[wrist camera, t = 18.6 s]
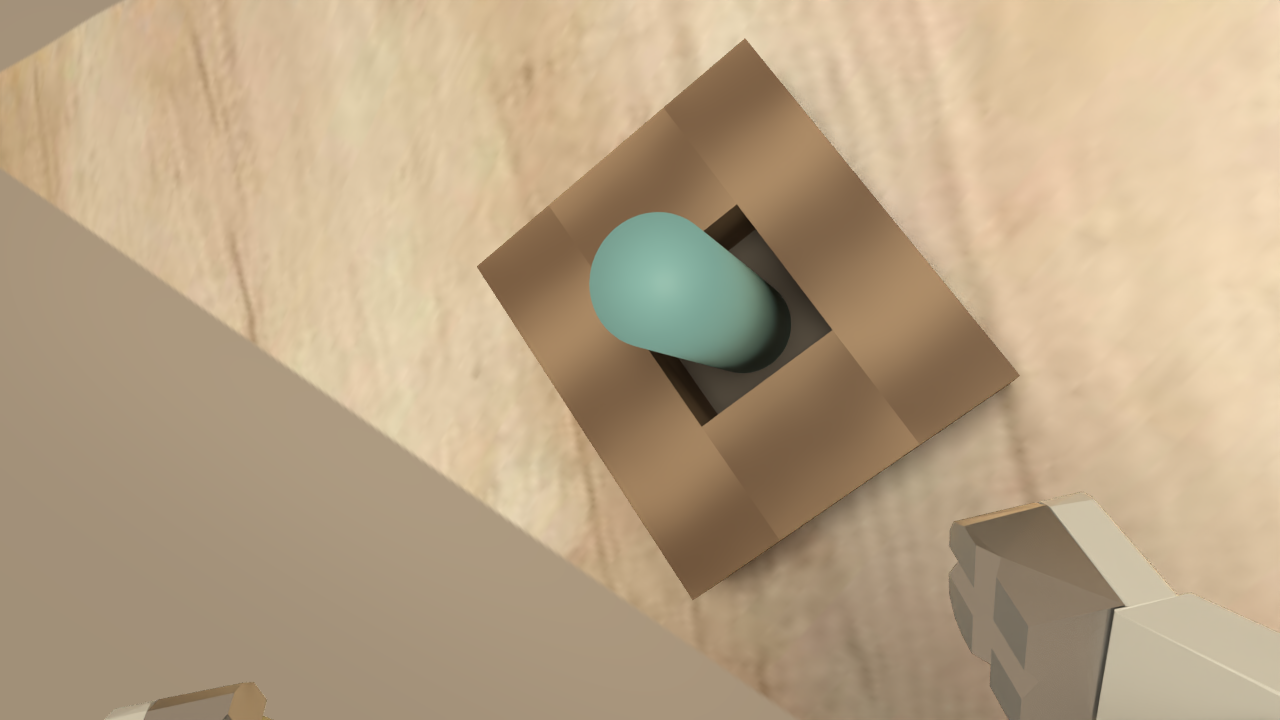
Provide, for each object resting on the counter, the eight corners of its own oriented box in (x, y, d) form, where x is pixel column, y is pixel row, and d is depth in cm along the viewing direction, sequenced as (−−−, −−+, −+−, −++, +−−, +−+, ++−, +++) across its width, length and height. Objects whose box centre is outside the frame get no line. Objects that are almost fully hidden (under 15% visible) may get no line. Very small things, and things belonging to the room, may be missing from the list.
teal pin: (810, 334, 36) (747, 290, 25) (732, 392, 37) (637, 375, 26) (753, 258, 37) (668, 184, 26) (679, 317, 38) (565, 269, 27)
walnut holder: (1010, 382, 35) (1019, 375, 30) (725, 578, 38) (692, 600, 33) (770, 85, 39) (745, 38, 34) (530, 285, 42) (476, 266, 37)
